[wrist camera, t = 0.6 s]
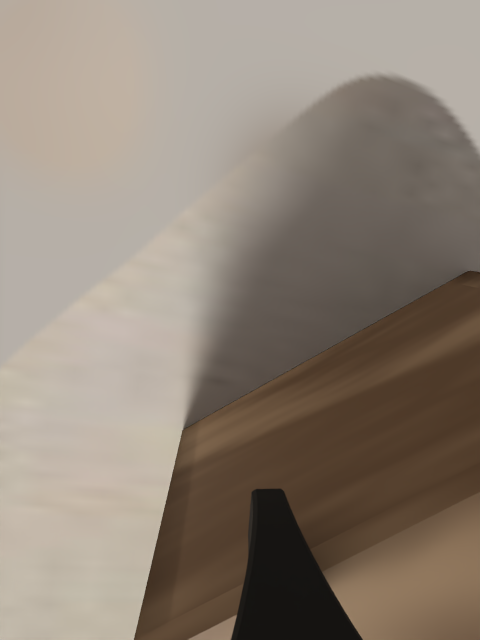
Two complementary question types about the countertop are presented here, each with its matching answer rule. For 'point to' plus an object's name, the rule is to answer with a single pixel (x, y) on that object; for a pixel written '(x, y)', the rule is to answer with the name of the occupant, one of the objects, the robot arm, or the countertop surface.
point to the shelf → (342, 482)
